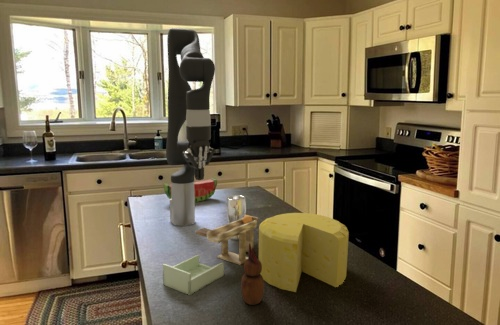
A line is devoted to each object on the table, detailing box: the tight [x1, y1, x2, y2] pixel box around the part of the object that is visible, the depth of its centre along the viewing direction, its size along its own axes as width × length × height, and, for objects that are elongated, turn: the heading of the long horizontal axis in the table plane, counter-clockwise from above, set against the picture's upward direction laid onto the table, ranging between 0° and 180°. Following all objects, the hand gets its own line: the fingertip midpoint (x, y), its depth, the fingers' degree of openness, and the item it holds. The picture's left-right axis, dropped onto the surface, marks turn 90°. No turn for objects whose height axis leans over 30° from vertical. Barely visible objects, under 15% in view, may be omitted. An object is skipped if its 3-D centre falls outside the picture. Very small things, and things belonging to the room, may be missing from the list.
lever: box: [195, 214, 259, 244], centre depth 129 cm, size 20×11×3 cm, turn 145°
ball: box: [243, 214, 252, 224], centre depth 133 cm, size 3×3×3 cm
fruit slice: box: [163, 177, 218, 204], centre depth 193 cm, size 26×6×10 cm, turn 123°
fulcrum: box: [216, 228, 254, 266], centre depth 130 cm, size 12×9×10 cm
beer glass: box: [226, 194, 247, 241], centre depth 146 cm, size 7×7×15 cm
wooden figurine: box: [240, 243, 265, 306], centre depth 101 cm, size 7×6×15 cm
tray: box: [162, 254, 225, 296], centre depth 113 cm, size 10×14×6 cm
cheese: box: [258, 212, 350, 293], centre depth 119 cm, size 26×26×15 cm
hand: (199, 179), depth 126 cm, fingers closed
